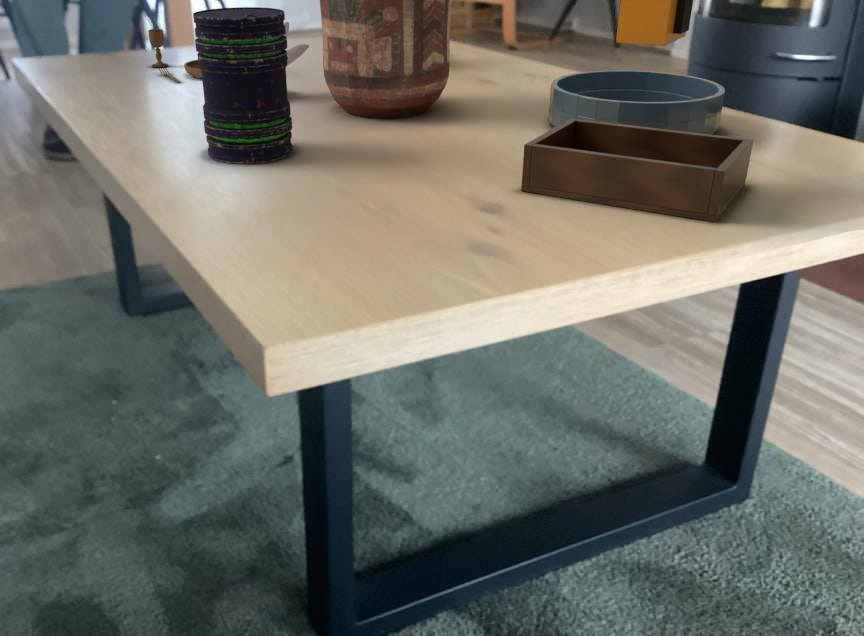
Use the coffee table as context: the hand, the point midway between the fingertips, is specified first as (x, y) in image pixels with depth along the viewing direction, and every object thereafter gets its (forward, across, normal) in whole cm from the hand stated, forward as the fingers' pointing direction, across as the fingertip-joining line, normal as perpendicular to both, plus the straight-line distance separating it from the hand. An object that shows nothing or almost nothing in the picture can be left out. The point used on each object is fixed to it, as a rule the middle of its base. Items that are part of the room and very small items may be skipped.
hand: (652, 29), depth 80 cm
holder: (+15, +1, -2) cm, 15 cm away
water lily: (+15, -59, +14) cm, 63 cm away
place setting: (+15, -80, +27) cm, 86 cm away
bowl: (+15, -7, +23) cm, 28 cm away
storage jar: (+15, -41, -10) cm, 45 cm away
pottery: (+15, -39, +17) cm, 45 cm away
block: (+1, 0, 0) cm, 1 cm away
